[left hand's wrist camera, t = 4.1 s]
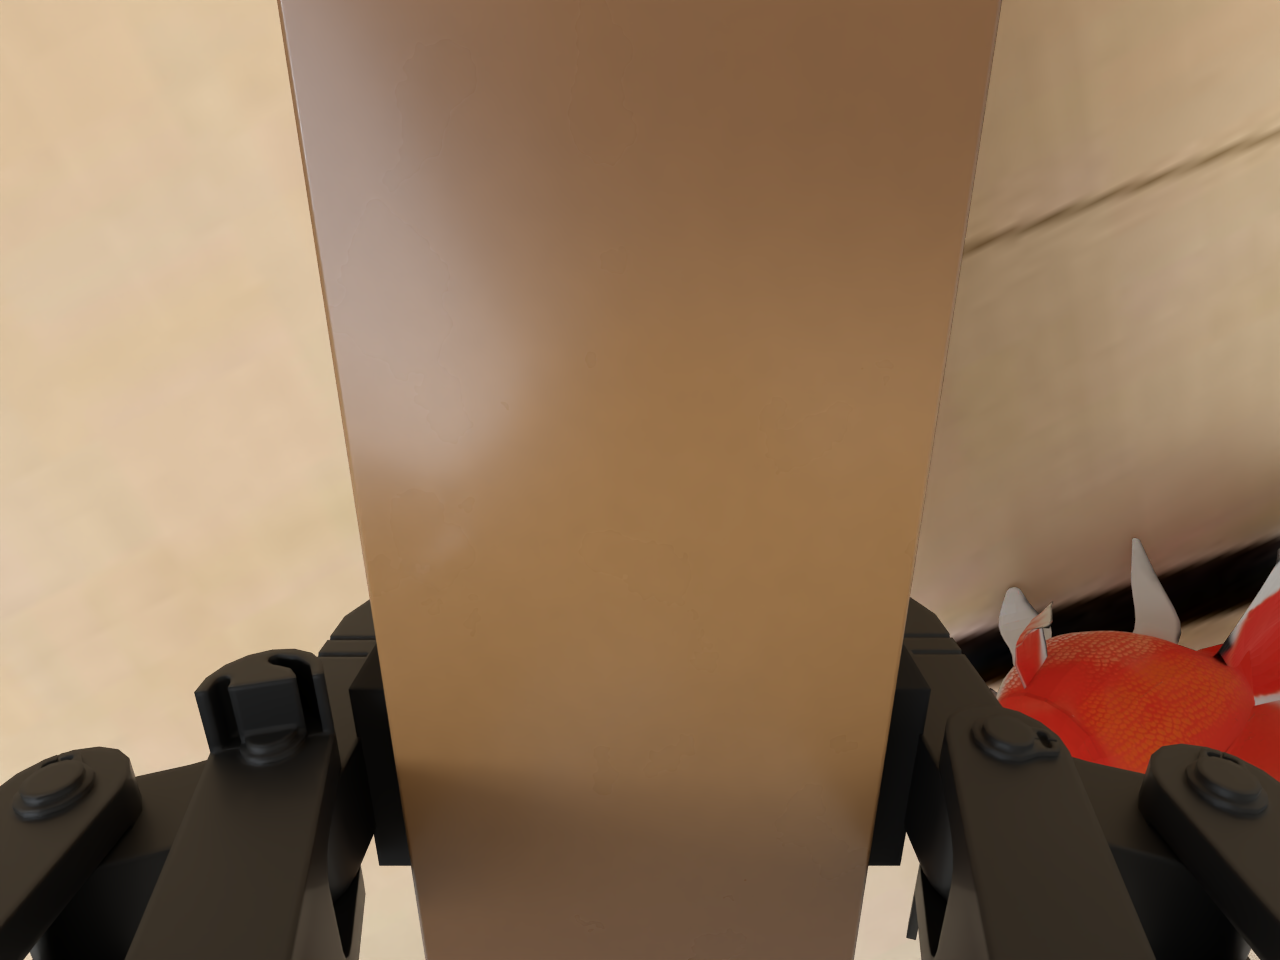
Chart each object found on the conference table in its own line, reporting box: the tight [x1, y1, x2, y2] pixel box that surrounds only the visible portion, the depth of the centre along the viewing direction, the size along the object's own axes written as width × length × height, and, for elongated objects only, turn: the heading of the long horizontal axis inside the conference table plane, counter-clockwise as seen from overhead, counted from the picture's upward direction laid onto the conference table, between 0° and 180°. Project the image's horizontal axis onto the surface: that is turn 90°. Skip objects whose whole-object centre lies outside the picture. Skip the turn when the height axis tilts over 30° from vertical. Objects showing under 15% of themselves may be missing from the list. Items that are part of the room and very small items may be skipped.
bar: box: [277, 0, 1002, 960], centre depth 9 cm, size 24×5×8 cm, turn 0°
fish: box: [990, 538, 1280, 782], centre depth 21 cm, size 11×16×10 cm
